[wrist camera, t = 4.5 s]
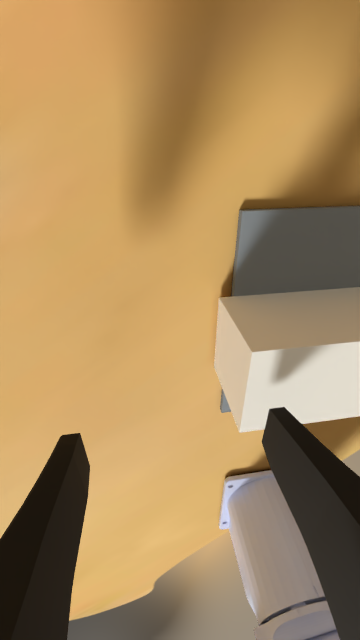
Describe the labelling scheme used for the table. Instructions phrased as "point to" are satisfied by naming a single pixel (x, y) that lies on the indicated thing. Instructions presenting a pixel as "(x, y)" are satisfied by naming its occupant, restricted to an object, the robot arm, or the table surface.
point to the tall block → (290, 355)
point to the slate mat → (296, 252)
